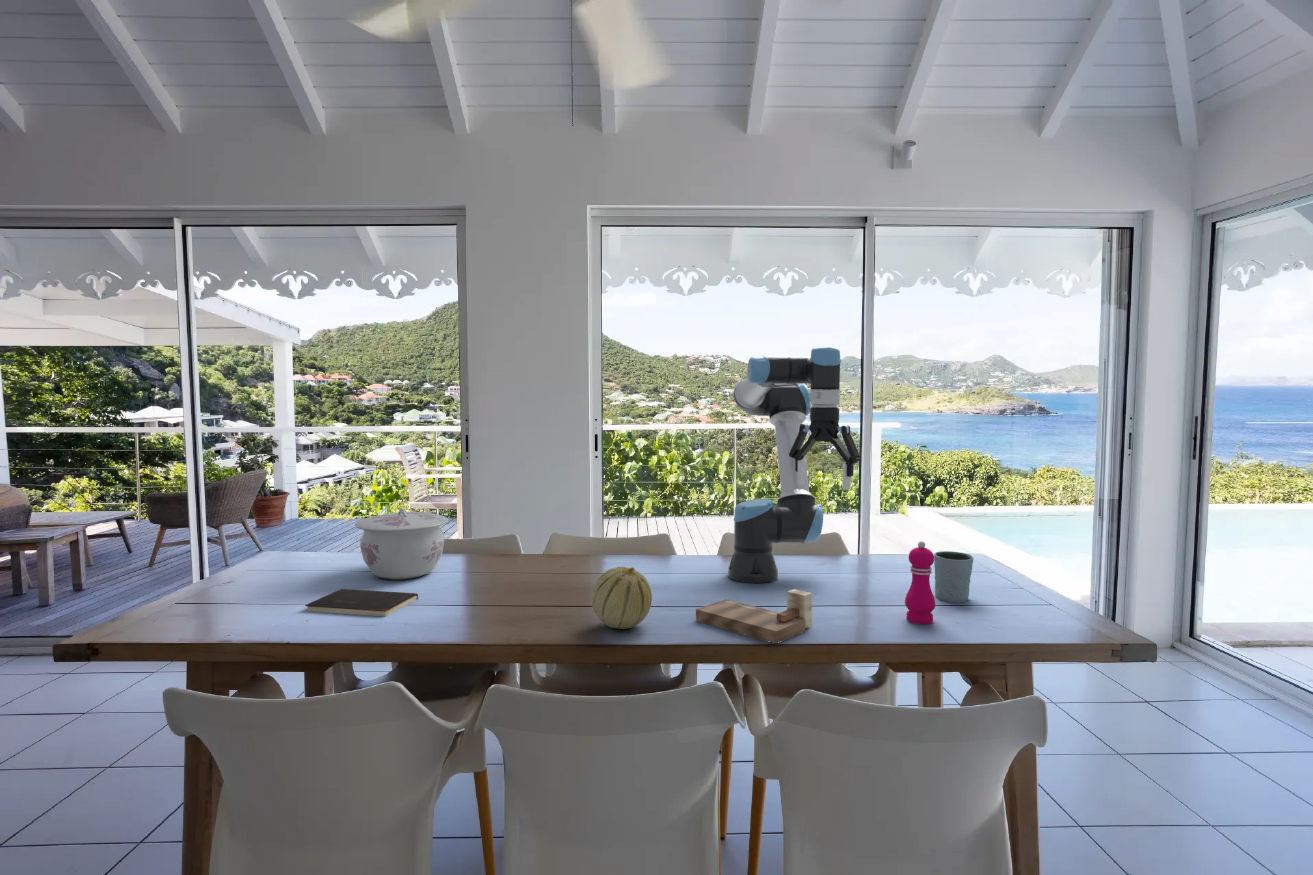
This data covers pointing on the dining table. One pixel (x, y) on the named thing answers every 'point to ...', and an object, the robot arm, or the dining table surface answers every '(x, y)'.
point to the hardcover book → (362, 602)
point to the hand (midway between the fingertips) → (823, 486)
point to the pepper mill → (920, 586)
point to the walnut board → (749, 620)
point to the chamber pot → (402, 543)
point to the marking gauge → (797, 607)
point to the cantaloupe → (621, 597)
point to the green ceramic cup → (952, 575)
